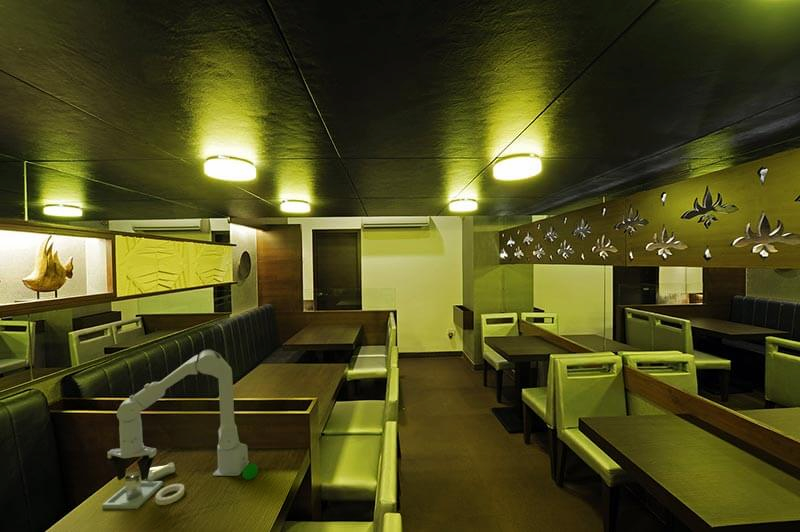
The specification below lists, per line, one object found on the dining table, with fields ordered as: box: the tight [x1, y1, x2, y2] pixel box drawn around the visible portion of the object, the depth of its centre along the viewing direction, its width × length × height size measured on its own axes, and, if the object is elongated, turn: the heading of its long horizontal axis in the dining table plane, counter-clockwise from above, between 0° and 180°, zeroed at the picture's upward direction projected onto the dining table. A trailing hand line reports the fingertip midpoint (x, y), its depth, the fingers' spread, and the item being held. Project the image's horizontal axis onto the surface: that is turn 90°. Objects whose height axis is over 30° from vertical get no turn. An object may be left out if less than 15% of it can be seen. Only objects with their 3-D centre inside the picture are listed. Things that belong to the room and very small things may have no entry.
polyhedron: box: [241, 462, 259, 480], centre depth 120 cm, size 5×5×5 cm
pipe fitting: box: [144, 461, 176, 482], centre depth 122 cm, size 8×4×7 cm
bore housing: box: [155, 483, 185, 506], centre depth 111 cm, size 8×8×2 cm
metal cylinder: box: [124, 471, 142, 500], centre depth 111 cm, size 4×4×6 cm
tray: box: [101, 480, 164, 510], centre depth 112 cm, size 11×11×1 cm
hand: (133, 478), depth 112 cm, fingers open, 7 cm apart
